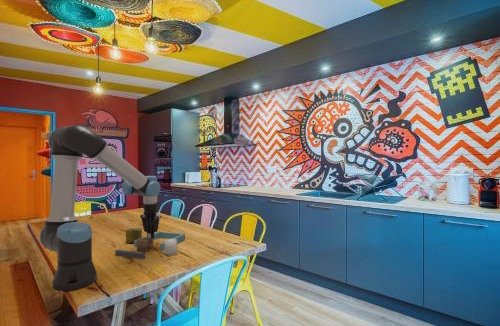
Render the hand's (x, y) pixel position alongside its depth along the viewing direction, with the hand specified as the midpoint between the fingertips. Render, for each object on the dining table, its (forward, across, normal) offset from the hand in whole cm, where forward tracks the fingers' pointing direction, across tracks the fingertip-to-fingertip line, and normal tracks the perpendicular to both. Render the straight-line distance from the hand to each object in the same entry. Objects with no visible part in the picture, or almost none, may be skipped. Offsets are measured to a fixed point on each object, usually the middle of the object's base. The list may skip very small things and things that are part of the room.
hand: (150, 244), depth 153 cm
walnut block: (+2, 0, +4) cm, 5 cm away
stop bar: (+2, 0, +16) cm, 16 cm away
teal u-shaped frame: (+2, 0, -8) cm, 9 cm away
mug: (+2, +18, -7) cm, 19 cm away
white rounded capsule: (+2, -17, +5) cm, 18 cm away
